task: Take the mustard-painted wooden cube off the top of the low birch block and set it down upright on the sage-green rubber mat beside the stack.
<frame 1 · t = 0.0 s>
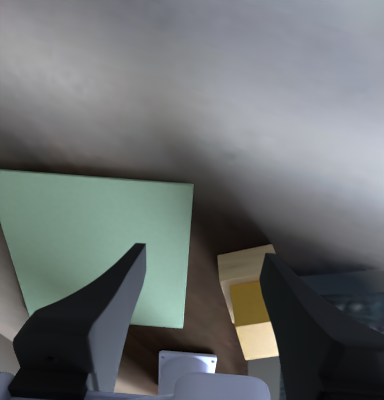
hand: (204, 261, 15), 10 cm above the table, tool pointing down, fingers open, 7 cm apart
mustard cube: (256, 298, 24), point 4 cm above the table, touching birch block
birch block: (249, 270, 28), on the table, touching mustard cube
sage mat: (99, 258, 28), on the table
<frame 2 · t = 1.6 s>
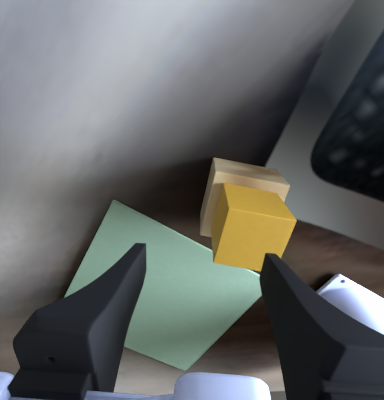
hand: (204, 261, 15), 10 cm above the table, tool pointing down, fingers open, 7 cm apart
mustard cube: (242, 211, 20), point 4 cm above the table, touching birch block
birch block: (236, 192, 24), on the table, touching mustard cube
sage mat: (156, 299, 30), on the table
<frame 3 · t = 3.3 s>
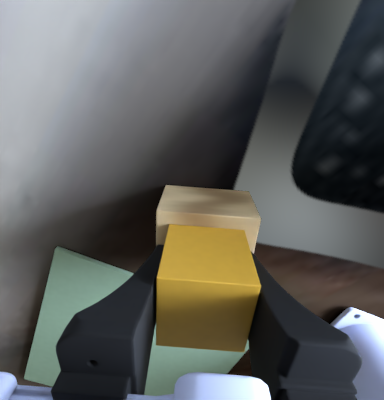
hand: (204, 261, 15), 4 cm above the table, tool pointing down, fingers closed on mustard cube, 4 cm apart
mustard cube: (203, 257, 15), point 4 cm above the table, touching birch block, gripper
birch block: (203, 223, 19), on the table, touching mustard cube
sage mat: (134, 350, 26), on the table
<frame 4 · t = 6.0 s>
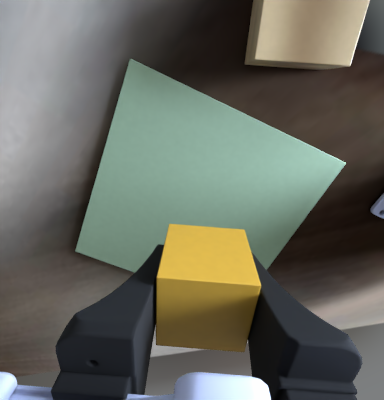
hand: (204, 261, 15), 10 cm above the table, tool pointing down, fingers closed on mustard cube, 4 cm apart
mustard cube: (203, 256, 15), point 9 cm above the table, touching gripper
birch block: (292, 20, 18), on the table
sage mat: (195, 210, 24), on the table
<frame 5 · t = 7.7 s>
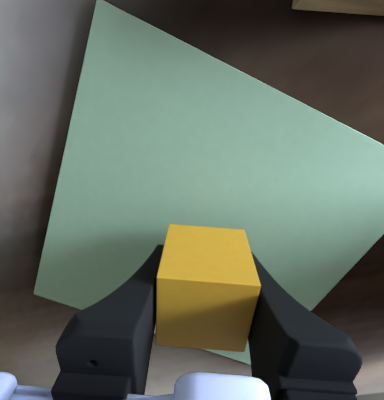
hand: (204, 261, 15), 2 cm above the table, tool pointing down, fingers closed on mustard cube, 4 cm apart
mustard cube: (203, 256, 15), point 2 cm above the table, touching gripper
sage mat: (204, 240, 17), on the table
when the fingers open (1 cm above the table, at t = 8.7 s): mustard cube stays where it is, resting on sage mat.
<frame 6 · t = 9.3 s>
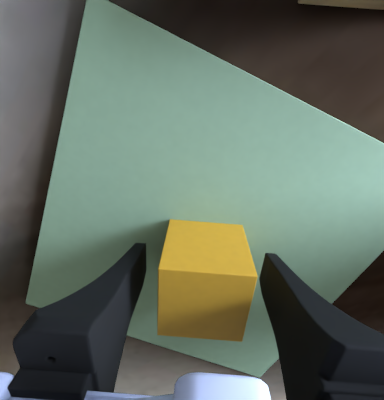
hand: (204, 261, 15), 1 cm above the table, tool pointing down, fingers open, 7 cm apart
mustard cube: (203, 251, 16), resting on sage mat
sage mat: (203, 248, 16), on the table
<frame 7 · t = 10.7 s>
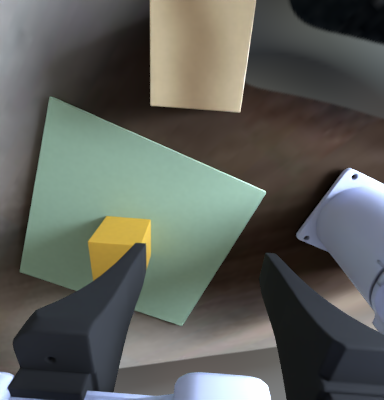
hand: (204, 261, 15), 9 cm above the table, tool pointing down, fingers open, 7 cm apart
mustard cube: (129, 236, 25), resting on sage mat
birch block: (199, 62, 18), on the table
sage mat: (131, 234, 25), on the table
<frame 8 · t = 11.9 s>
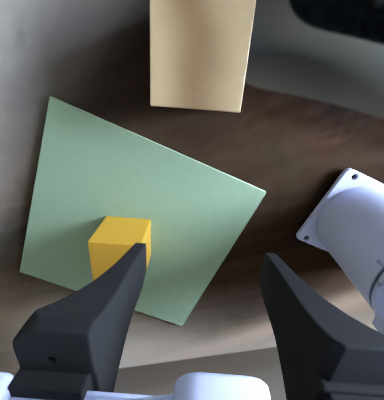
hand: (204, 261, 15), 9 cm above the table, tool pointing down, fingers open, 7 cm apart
mustard cube: (129, 236, 25), resting on sage mat
birch block: (199, 62, 18), on the table
sage mat: (131, 234, 25), on the table
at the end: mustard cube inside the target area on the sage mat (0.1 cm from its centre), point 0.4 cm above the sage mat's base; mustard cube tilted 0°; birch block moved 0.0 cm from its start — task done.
